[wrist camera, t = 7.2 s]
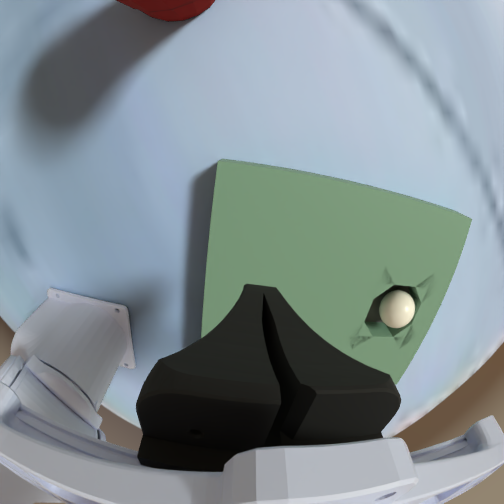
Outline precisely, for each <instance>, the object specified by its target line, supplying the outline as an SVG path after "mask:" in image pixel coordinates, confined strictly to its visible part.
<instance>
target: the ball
mask: <svg viewBox="0 0 504 504" xmlns="http://www.w3.org/2000/svg"><path fill="white" fill-rule="evenodd" d="M414 312H415V304H414V301H413V299H412V297H411V296H410V295H409V294H408V293H406V292H405V291H401V290H395V291H391V292H389V293H388V294H386V295H385V296H384V298H383V299H382V301H381V303H380V307H379V314H380V317H381V319H382V321H383V322H384V323H385V324H386V325H387V326H389V327H392V328H400V327H403V326H405V325H407V324H408V323H409V322H410V321H411V319H412V318H413V316H414Z"/></svg>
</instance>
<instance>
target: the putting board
mask: <svg viewBox="0 0 504 504" xmlns="http://www.w3.org/2000/svg"><path fill="white" fill-rule="evenodd" d="M471 221H472V219H471V218H469V217H467V216H465V215H463V214H460V213H458V212H456V211H454V210H451V209H448V208H445V207H442V206H439V205H436V204H433V203H429V202H426V201H423V200H420V199H416V198H413V197H410V196H406V195H403V194H399V193H395V192H392V191H388V190H384V189H380V188H377V187H373V186H369V185H365V184H360V183H356V182H352V181H348V180H343V179H339V178H334V177H329V176H325V175H320V174H315V173H310V172H305V171H299V170H294V169H288V168H282V167H276V166H270V165H264V164H257V163H250V162H243V161H236V160H228V159H221V160H219V161H218V164H217V171H216V179H215V187H214V196H213V204H212V213H211V223H210V232H209V242H208V253H207V264H206V275H205V288H204V301H203V315H202V331H201V338H202V337H204V336H205V335H206V334H208V333H209V332H210V331H211V330H212V329H214V328H215V327H216V326H217V325H218V324H219V323H220V322H221V321H222V320H223V319H224V318H225V316H226V315H227V314H228V313H229V312H230V310H231V309H232V308H233V306H234V305H235V303H236V302H237V300H238V299H239V297H240V295H241V293H242V291H243V286H244V285H245V284H254V285H262V286H270V287H276V288H277V289H278V290H279V292H280V293H281V294H282V296H283V297H284V298H285V300H286V301H287V302H288V304H289V305H290V306H291V307H292V308H293V310H294V311H295V312H296V313H297V314H298V315H299V316H300V318H301V319H302V320H303V321H304V322H305V323H306V324H307V325H308V326H309V327H310V328H311V329H312V330H313V331H315V332H316V333H317V334H318V335H319V336H321V337H322V338H323V339H324V340H326V341H327V342H328V343H330V344H331V345H332V346H334V347H335V348H337V349H338V350H340V351H341V352H343V353H345V354H346V355H348V356H350V357H351V358H353V359H355V360H357V361H359V362H361V363H363V364H365V365H367V366H370V367H372V368H374V369H377V370H379V371H382V372H384V373H387V374H390V376H391V378H392V380H393V382H394V384H397V383H398V381H399V380H400V378H401V377H402V375H403V374H404V372H405V370H406V369H407V367H408V366H409V364H410V362H411V361H412V359H413V357H414V355H415V354H416V352H417V350H418V348H419V347H420V345H421V343H422V341H423V339H424V337H425V336H426V334H427V332H428V330H429V328H430V326H431V324H432V322H433V320H434V318H435V316H436V314H437V312H438V309H439V307H440V305H441V303H442V301H443V298H444V296H445V294H446V292H447V289H448V287H449V284H450V282H451V280H452V277H453V274H454V272H455V269H456V267H457V264H458V261H459V258H460V256H461V253H462V250H463V247H464V244H465V241H466V238H467V234H468V231H469V228H470V224H471ZM395 290H401V291H405V292H406V293H408V294H409V295H410V296H411V297H412V299H413V301H414V304H415V312H414V316H413V318H412V319H411V321H410V322H409V323H408V324H407V325H405V326H403V327H400V328H392V327H389V326H387V325H386V324H385V323H384V322H383V321H382V319H381V317H380V314H379V307H380V303H381V301H382V299H383V298H384V296H385V295H386V294H388V293H389V292H391V291H395Z"/></svg>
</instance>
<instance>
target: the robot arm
mask: <svg viewBox="0 0 504 504" xmlns="http://www.w3.org/2000/svg"><path fill="white" fill-rule="evenodd" d="M47 294H48V299H47V300H46V301H45V302H44V303H43V304H42V305H41V306H40V307H39V308H38V309H37V310H36V311H35V312H34V313H33V314H32V315H31V316H30V317H29V318H28V319H27V320H26V321H25V322H24V323H23V324H22V325H21V326H20V327H19V329H18V330H17V332H16V333H15V336H14V338H13V341H12V345H11V355H10V356H9V357H8V358H7V360H6V361H5V362H4V363H3V364H2V365H1V366H0V504H33V503H36V502H47V503H65V504H443V503H445V502H447V501H449V500H451V499H453V498H455V497H457V496H458V495H460V494H462V493H464V492H466V491H467V490H469V489H471V488H473V487H474V486H475V485H477V484H478V483H480V482H481V481H483V480H484V479H485V478H487V477H488V476H489V475H491V474H492V473H493V472H494V471H496V470H497V469H498V468H499V467H500V466H502V465H503V464H504V434H503V432H502V430H501V429H500V427H499V425H498V423H497V422H496V420H495V418H494V417H493V415H491V416H489V417H487V418H484V419H482V420H480V421H478V422H476V423H475V424H473V425H472V426H471V427H470V428H469V429H468V430H467V431H466V433H465V434H464V435H462V436H460V437H457V438H454V439H451V440H449V441H446V442H443V443H440V444H437V445H434V446H431V447H428V448H425V449H421V450H418V451H414V452H411V453H409V450H408V448H407V445H406V443H405V442H404V441H403V439H402V438H383V436H382V433H381V431H382V430H383V429H384V428H385V426H386V425H387V424H388V423H389V422H390V420H391V419H392V418H393V417H394V415H395V414H396V412H397V411H398V409H399V407H400V403H401V398H400V394H399V392H398V390H397V388H396V386H395V384H394V382H393V380H392V378H391V376H390V374H387V373H384V372H382V371H379V370H377V369H374V368H372V367H370V366H367V365H365V364H363V363H361V362H359V361H357V360H355V359H353V358H351V357H350V356H348V355H346V354H345V353H343V352H341V351H340V350H338V349H337V348H335V347H334V346H332V345H331V344H330V343H328V342H327V341H326V340H324V339H323V338H322V337H321V336H319V335H318V334H317V333H316V332H315V331H313V330H312V329H311V328H310V327H309V326H308V325H307V324H306V323H305V322H304V321H303V320H302V319H301V318H300V316H299V315H298V314H297V313H296V312H295V311H294V310H293V308H292V307H291V306H290V305H289V304H288V302H287V301H286V300H285V298H284V297H283V296H282V294H281V293H280V292H279V290H278V289H277V288H276V287H270V286H262V285H254V284H245V285H244V286H243V291H242V293H241V295H240V297H239V299H238V300H237V302H236V303H235V305H234V306H233V308H232V309H231V310H230V312H229V313H228V314H227V315H226V316H225V318H224V319H223V320H222V321H221V322H220V323H219V324H218V325H217V326H216V327H215V328H214V329H212V330H211V331H210V332H209V333H208V334H206V335H205V336H204V337H202V338H201V339H200V340H198V341H197V342H195V343H193V344H192V345H190V346H188V347H187V348H185V349H183V350H181V351H179V352H177V353H174V354H172V355H169V356H167V357H164V358H161V359H159V360H158V362H157V363H156V364H155V366H154V367H153V369H152V370H151V372H150V373H149V375H148V377H147V378H146V380H145V382H144V384H143V386H142V389H141V391H140V394H139V397H138V400H137V403H136V412H137V415H138V419H139V422H140V425H141V429H142V432H143V437H142V440H141V444H140V448H139V451H134V450H131V449H127V448H124V447H121V446H118V445H114V444H111V443H108V442H106V437H105V434H104V433H103V432H102V430H100V429H99V427H100V424H101V422H102V418H101V417H100V416H99V415H98V414H97V411H98V409H99V407H100V405H101V402H102V400H103V398H104V396H105V394H106V392H107V389H108V387H109V385H110V383H111V381H112V379H113V377H114V375H115V373H116V371H117V369H118V367H119V366H122V367H126V368H130V369H134V368H135V366H136V363H135V357H134V351H133V344H132V337H131V329H130V321H129V312H128V309H127V307H126V306H124V305H120V304H115V303H111V302H106V301H102V300H97V299H93V298H89V297H85V296H81V295H77V294H73V293H69V292H65V291H61V290H58V289H54V288H49V289H48V290H47ZM116 308H117V309H119V311H118V310H117V309H116ZM126 363H127V364H126Z"/></svg>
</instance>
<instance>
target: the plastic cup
mask: <svg viewBox="0 0 504 504" xmlns="http://www.w3.org/2000/svg"><path fill="white" fill-rule="evenodd" d="M116 1H119V2H121V3H123V4H125V5H127V6H129V7H131V8H133V9H137V10H140V11H142V12H144V13H145V14H147V15H149V16H151V17H153V18H157V19H161V20H165V21H168V22H169V21H183V20H186V19H189V18H191V17H194V16H197V15H199V14H201V13H202V12H203V11H205V10H206V9H208V8H210V7H211V5H212V4H213V3H214V1H215V0H116Z"/></svg>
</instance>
